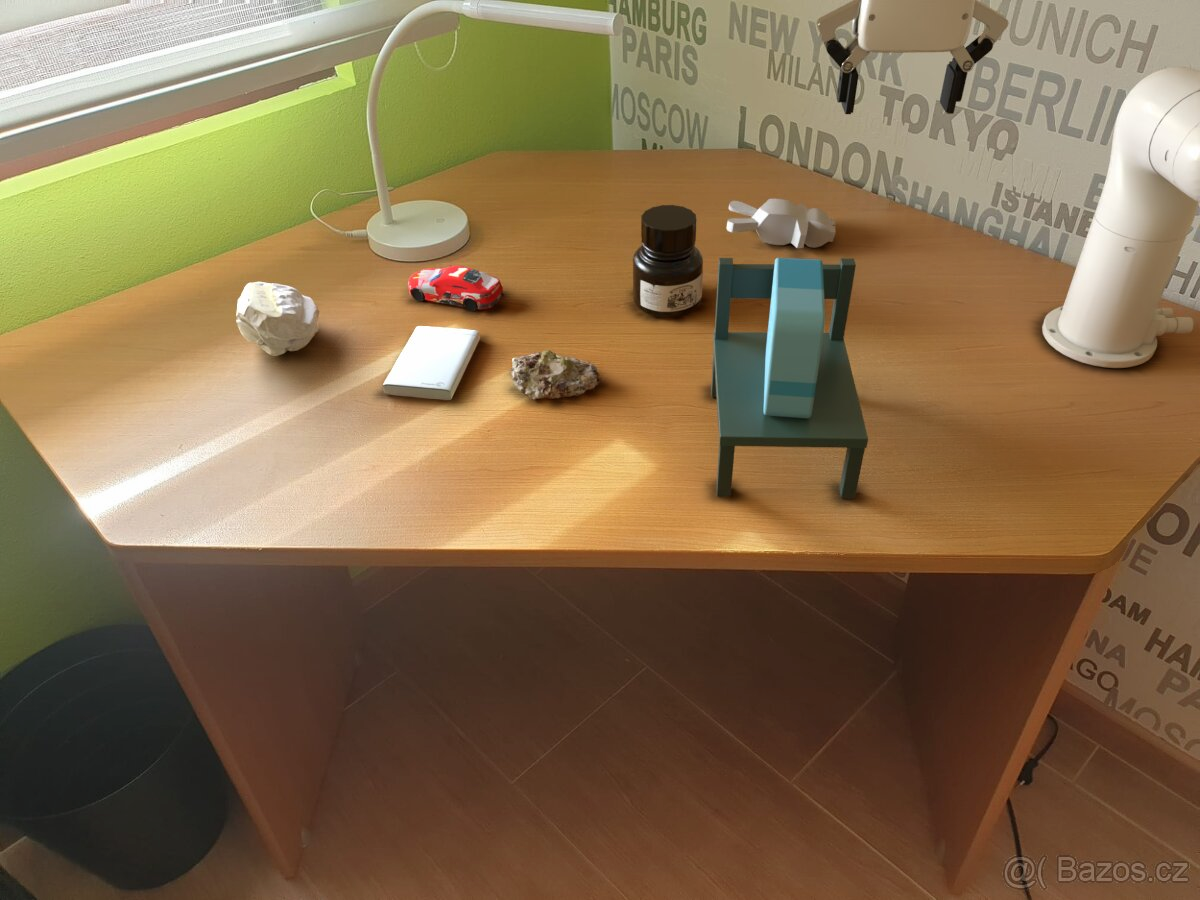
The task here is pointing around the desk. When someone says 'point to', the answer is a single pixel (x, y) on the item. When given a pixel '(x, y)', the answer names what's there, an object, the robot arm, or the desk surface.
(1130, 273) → the robot arm
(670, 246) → the ink bottle
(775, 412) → the light blue rounded block
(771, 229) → the bunny figurine
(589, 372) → the mineral rock
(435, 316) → the desk surface
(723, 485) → the chair
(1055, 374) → the desk surface
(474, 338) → the hard drive
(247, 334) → the white rounded lump
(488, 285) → the race car
